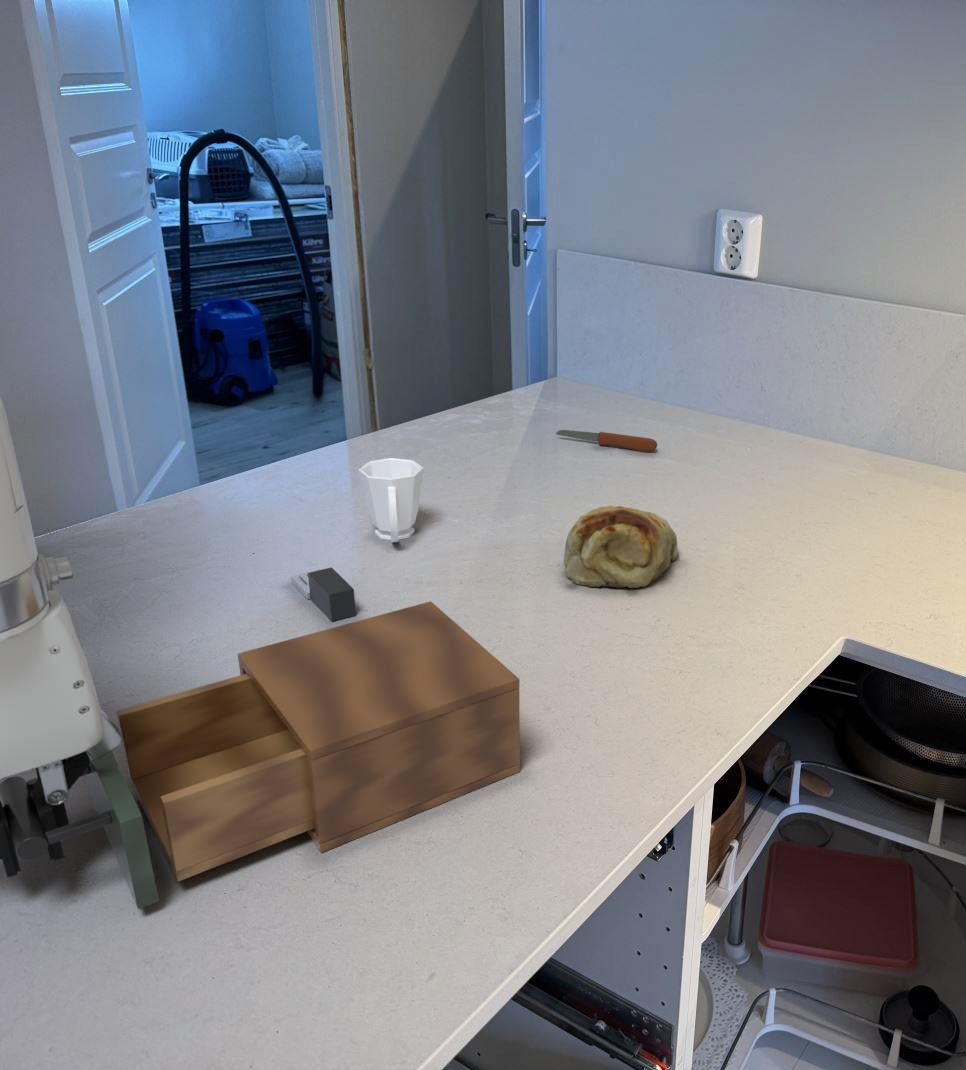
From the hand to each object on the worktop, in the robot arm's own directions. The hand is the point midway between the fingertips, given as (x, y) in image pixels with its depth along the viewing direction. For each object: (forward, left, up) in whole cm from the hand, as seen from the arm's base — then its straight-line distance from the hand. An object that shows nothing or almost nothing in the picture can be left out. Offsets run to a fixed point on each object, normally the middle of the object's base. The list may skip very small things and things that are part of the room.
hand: (31, 853), depth 62 cm
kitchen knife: (+81, +53, -3) cm, 97 cm away
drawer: (+9, 0, -2) cm, 9 cm away
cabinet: (+23, 0, -3) cm, 23 cm away
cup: (+41, +38, -3) cm, 56 cm away
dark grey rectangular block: (+29, +28, -3) cm, 40 cm away
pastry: (+59, +18, -3) cm, 62 cm away
